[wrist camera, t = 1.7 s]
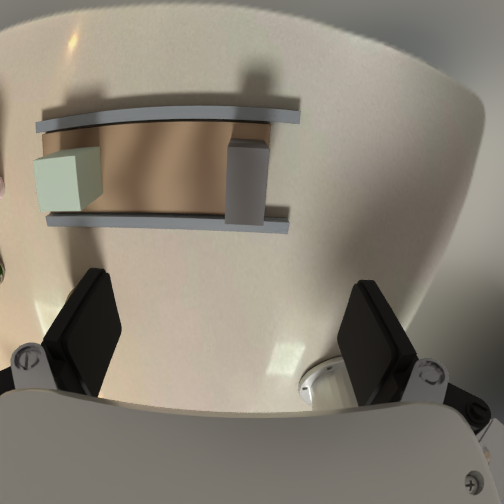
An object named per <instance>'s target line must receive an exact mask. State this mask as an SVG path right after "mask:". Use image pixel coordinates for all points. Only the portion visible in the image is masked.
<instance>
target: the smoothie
mask: <svg viewBox="0 0 504 504" xmlns="http://www.w3.org/2000/svg"><path fill="white" fill-rule="evenodd" d="M4 192H5V186H4V182H3V179H2V177H1V176H0V199H1V198H2V197H3V195H4Z"/></svg>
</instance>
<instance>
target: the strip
mask: <svg viewBox="0 0 504 504" xmlns="http://www.w3.org/2000/svg"><path fill="white" fill-rule="evenodd" d="M270 129H271V124H262V123H245V122H218V121H173V122H147V123H130V124H117V125H107V126H97V127H88V128H80V129H73V130H66V131H59V132H53V133H47V134H43V135H42V143H43V156H46V155H49V154H51V153H54V152H57V151H59V150H66V149H75V148H85V147H96V146H100V162H101V176H102V188H103V194H102V195H101V196H100V197H98V198H97V199H96V200H94V201H93V202H92V203H90V204H89V205H88V206H87V207H85V208H84V209H83V210H82V211H50V212H143V213H187V214H217V215H225V224H234V225H256V226H263V225H264V213H265V200H266V188H267V176H268V163H269V150H270V149H269V142H270Z"/></svg>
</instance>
